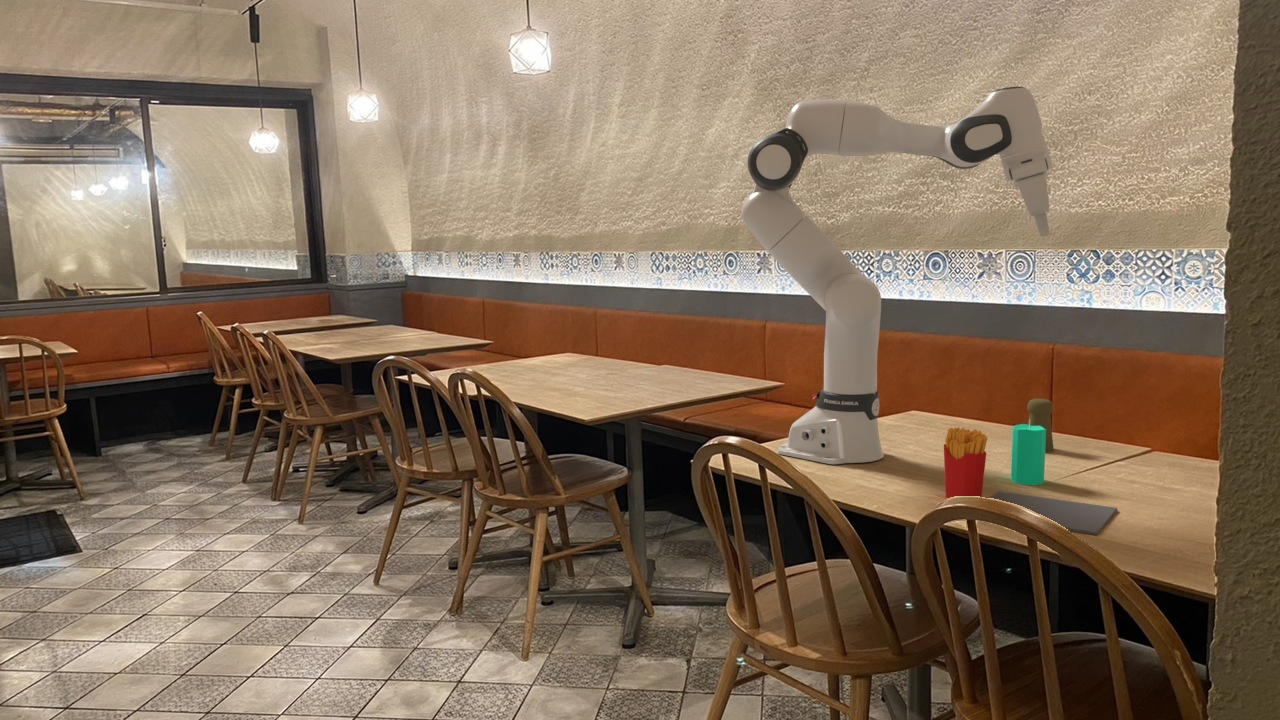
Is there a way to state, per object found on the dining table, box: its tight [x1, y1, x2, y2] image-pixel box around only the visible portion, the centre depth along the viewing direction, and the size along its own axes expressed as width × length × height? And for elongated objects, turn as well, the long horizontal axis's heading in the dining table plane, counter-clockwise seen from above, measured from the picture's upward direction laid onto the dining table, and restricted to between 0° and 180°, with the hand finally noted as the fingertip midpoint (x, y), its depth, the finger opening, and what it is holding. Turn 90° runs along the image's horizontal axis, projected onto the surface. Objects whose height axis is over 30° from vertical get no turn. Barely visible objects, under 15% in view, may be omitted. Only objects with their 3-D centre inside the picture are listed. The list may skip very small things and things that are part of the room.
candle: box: [1010, 418, 1046, 486], centre depth 189 cm, size 6×6×12 cm
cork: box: [1026, 398, 1054, 453], centre depth 214 cm, size 6×6×11 cm
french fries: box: [943, 427, 988, 499], centre depth 176 cm, size 9×4×13 cm, turn 23°
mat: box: [989, 490, 1118, 536], centre depth 169 cm, size 20×16×1 cm
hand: (1044, 234), depth 198 cm, fingers open, 8 cm apart
